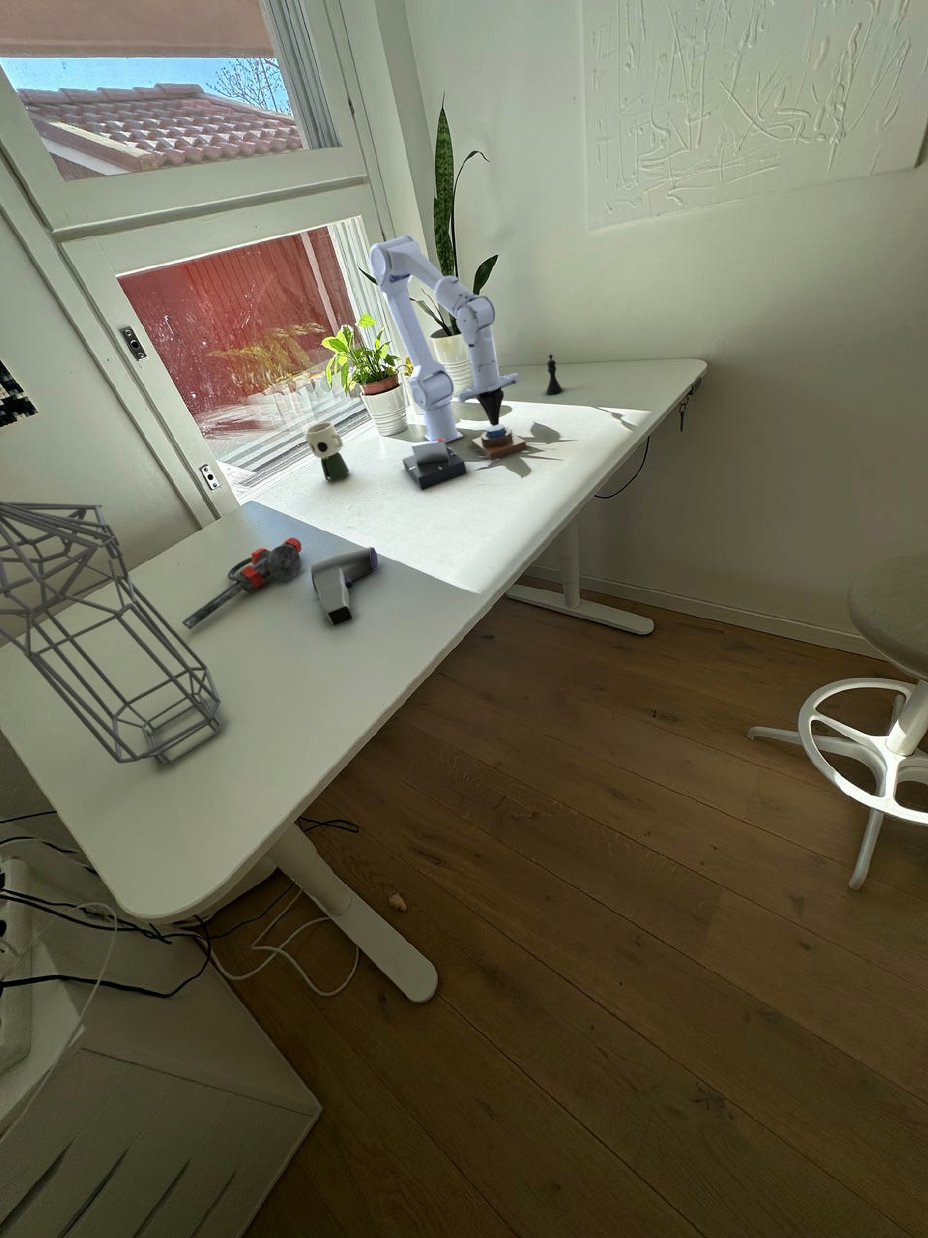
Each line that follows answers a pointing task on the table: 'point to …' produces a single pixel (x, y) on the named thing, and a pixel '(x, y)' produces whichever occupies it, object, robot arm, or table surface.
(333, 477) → the character mug
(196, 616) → the chainsaw
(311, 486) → the table surface
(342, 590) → the infrared thermometer
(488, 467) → the table surface
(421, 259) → the robot arm
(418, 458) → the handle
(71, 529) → the geometric lantern
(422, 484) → the tap deck
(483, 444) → the button block
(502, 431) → the button
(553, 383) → the chess piece
